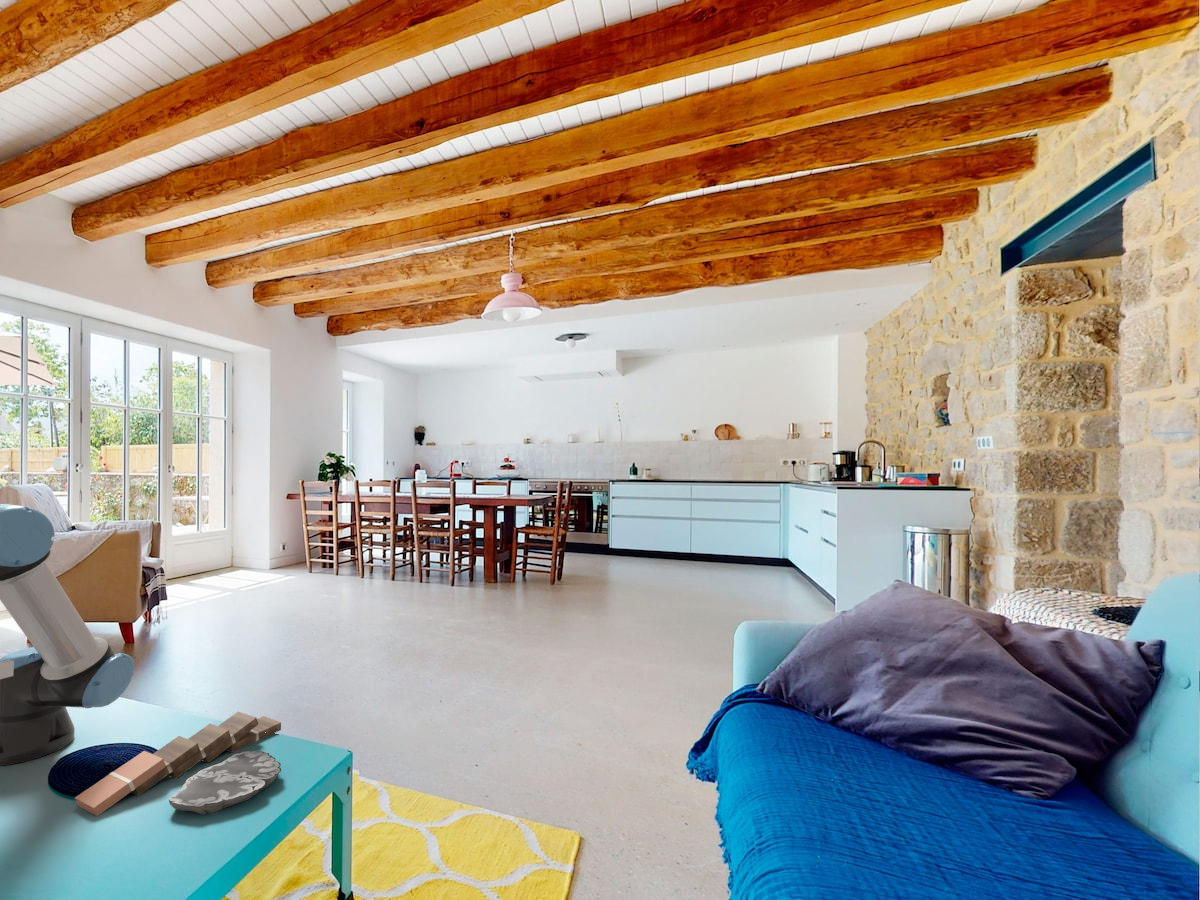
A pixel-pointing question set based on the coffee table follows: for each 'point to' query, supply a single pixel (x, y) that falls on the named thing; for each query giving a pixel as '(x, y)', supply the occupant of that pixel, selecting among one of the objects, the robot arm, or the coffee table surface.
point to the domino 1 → (120, 783)
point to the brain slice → (226, 782)
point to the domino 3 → (203, 746)
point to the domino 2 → (170, 760)
